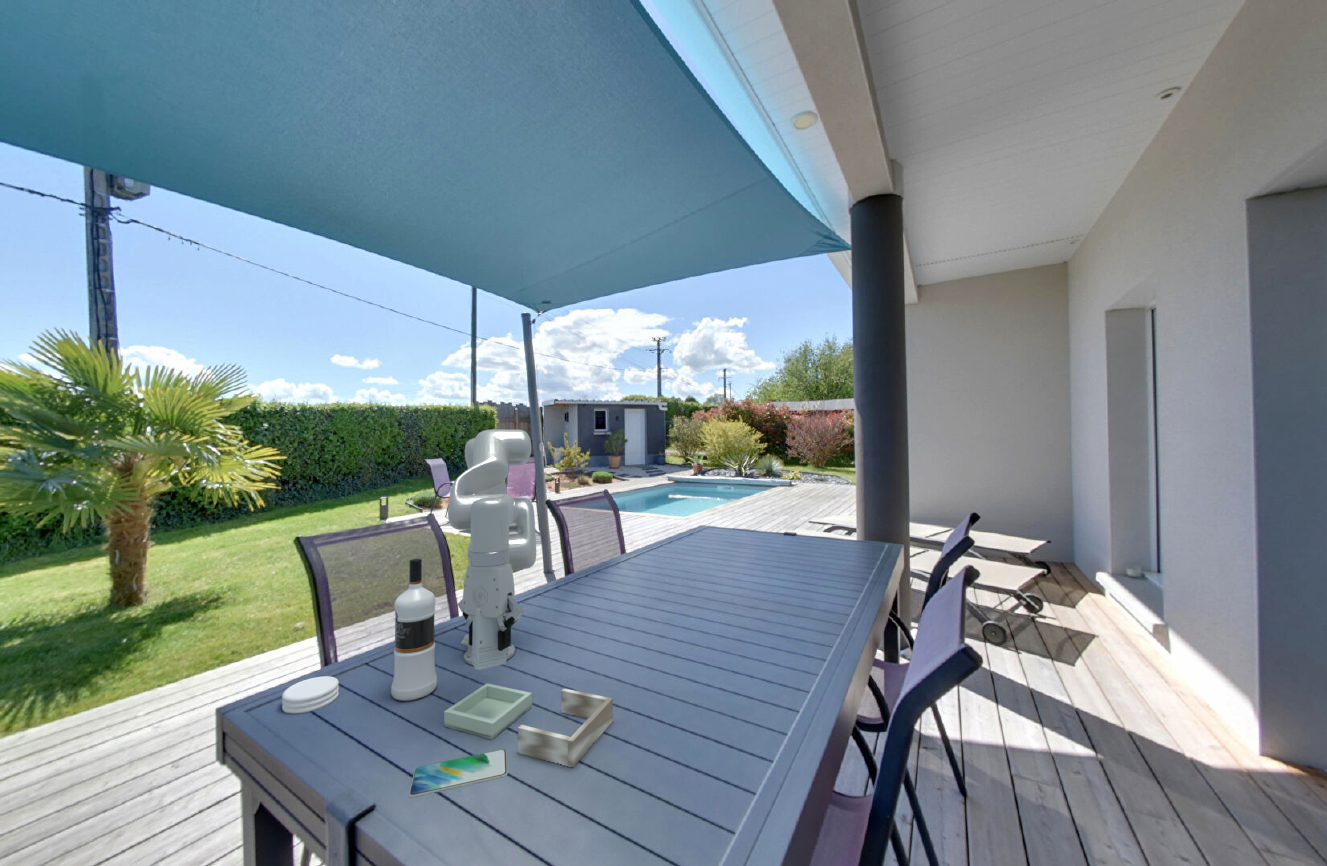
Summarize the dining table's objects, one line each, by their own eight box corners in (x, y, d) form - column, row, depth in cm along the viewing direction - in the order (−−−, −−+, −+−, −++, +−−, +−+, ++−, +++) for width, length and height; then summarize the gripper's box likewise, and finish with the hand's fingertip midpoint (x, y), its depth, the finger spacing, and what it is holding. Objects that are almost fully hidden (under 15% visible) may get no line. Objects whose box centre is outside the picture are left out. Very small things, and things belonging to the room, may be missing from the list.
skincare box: (476, 671, 95) (476, 609, 95) (471, 663, 99) (471, 604, 99) (507, 663, 98) (507, 604, 99) (501, 656, 102) (501, 598, 102)
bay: (517, 752, 87) (517, 727, 87) (563, 710, 101) (563, 688, 101) (572, 768, 83) (572, 741, 83) (612, 721, 97) (612, 698, 97)
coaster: (349, 694, 108) (349, 679, 108) (303, 718, 99) (303, 701, 99) (317, 687, 111) (318, 672, 111) (270, 710, 102) (270, 693, 102)
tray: (444, 726, 95) (444, 711, 95) (486, 697, 106) (486, 683, 106) (492, 739, 91) (492, 723, 91) (531, 707, 102) (531, 693, 102)
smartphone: (507, 774, 81) (407, 796, 76) (507, 779, 81) (407, 802, 76) (506, 747, 87) (415, 766, 82) (506, 752, 87) (415, 771, 82)
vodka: (437, 697, 106) (437, 561, 107) (389, 706, 103) (390, 565, 103) (437, 678, 115) (438, 552, 116) (393, 687, 111) (394, 556, 112)
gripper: (443, 559, 99) (443, 646, 98) (512, 565, 93) (512, 659, 92) (470, 551, 106) (470, 633, 105) (535, 557, 100) (536, 644, 99)
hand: (489, 644), depth 99 cm, fingers closed on skincare box, 6 cm apart
